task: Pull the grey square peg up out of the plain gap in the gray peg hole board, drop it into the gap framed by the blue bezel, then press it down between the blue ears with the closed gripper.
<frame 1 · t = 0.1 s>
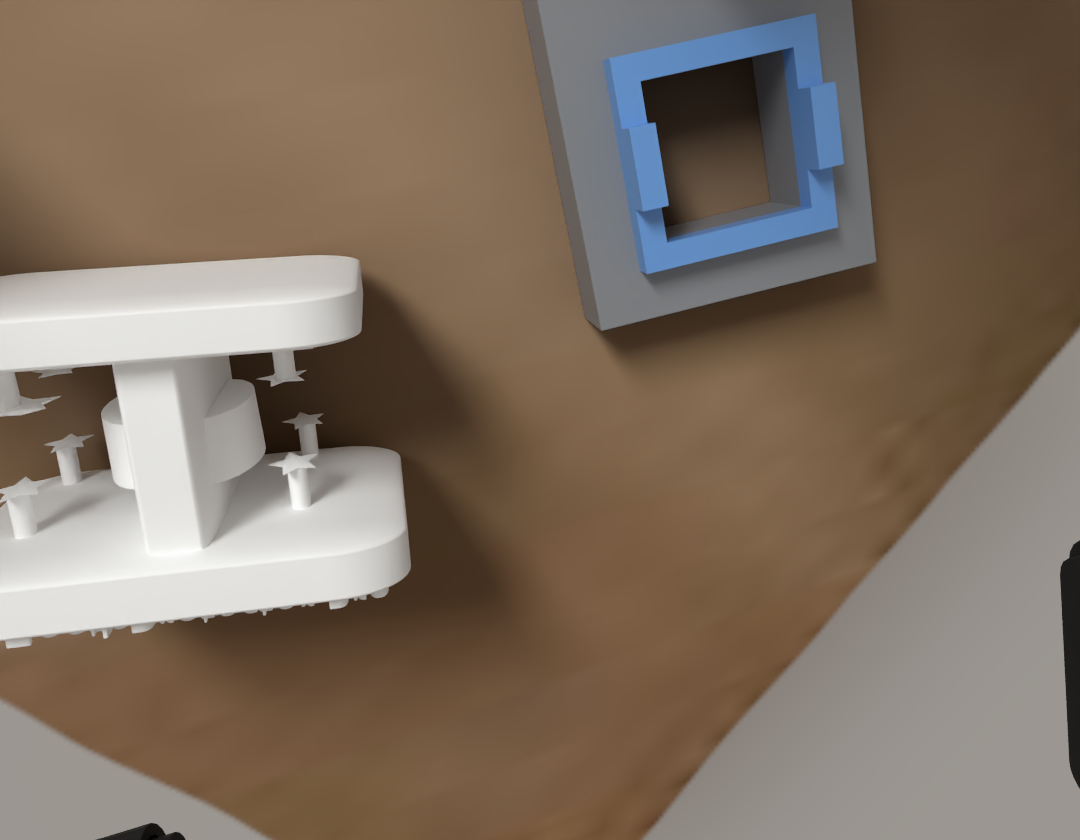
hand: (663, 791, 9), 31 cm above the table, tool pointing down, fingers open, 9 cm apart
cable organizer: (210, 385, 38), on the table
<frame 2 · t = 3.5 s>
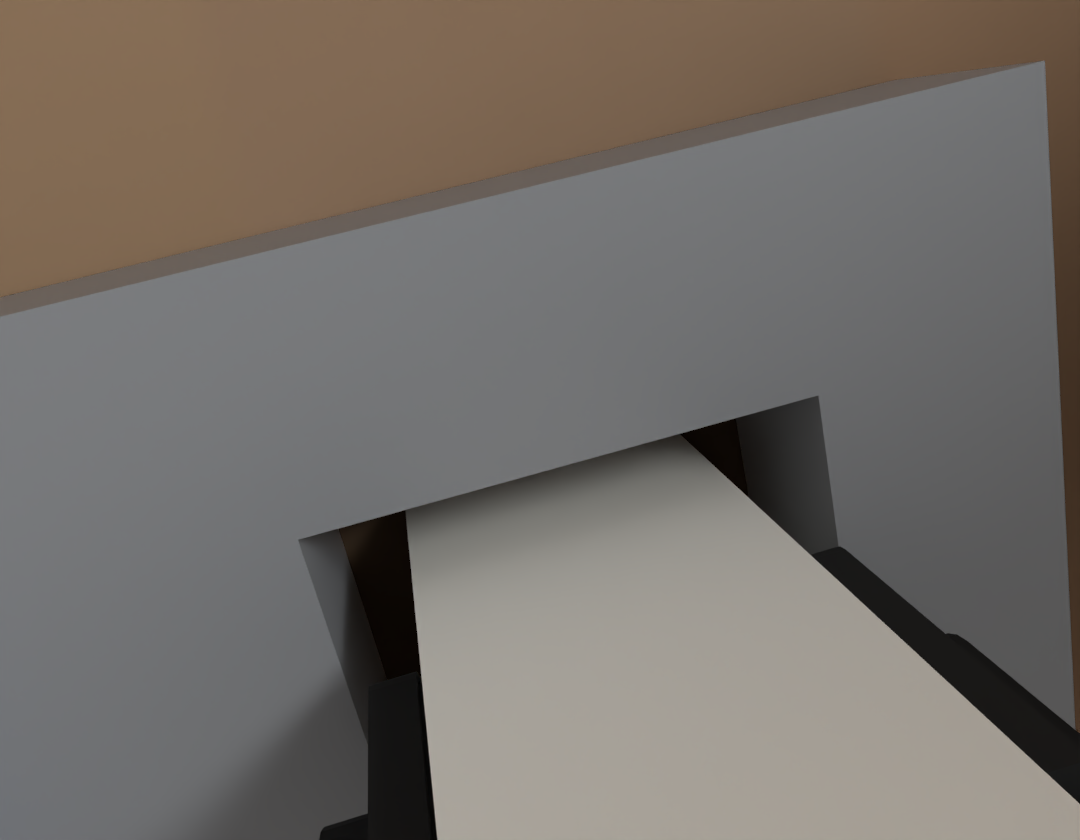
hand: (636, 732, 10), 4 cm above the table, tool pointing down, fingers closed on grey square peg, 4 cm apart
grey square peg: (567, 581, 14), resting in gray peg hole board, touching gripper
gray peg hole board: (171, 696, 13), on the table
when the fingers open (5 cm above the table, at t = 9.8 s): grey square peg drops 1 cm, resting in gray peg hole board.
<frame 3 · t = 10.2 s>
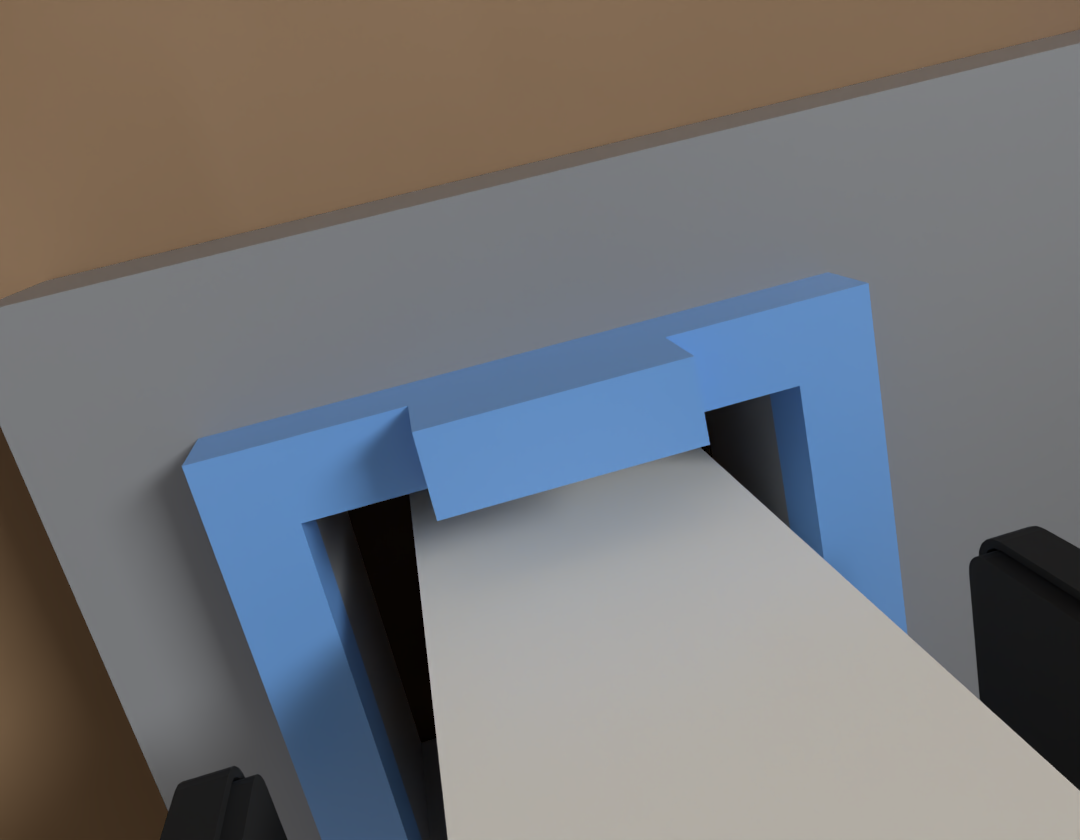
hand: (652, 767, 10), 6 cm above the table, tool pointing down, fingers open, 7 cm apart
grey square peg: (553, 540, 15), resting in gray peg hole board
gray peg hole board: (882, 447, 16), on the table
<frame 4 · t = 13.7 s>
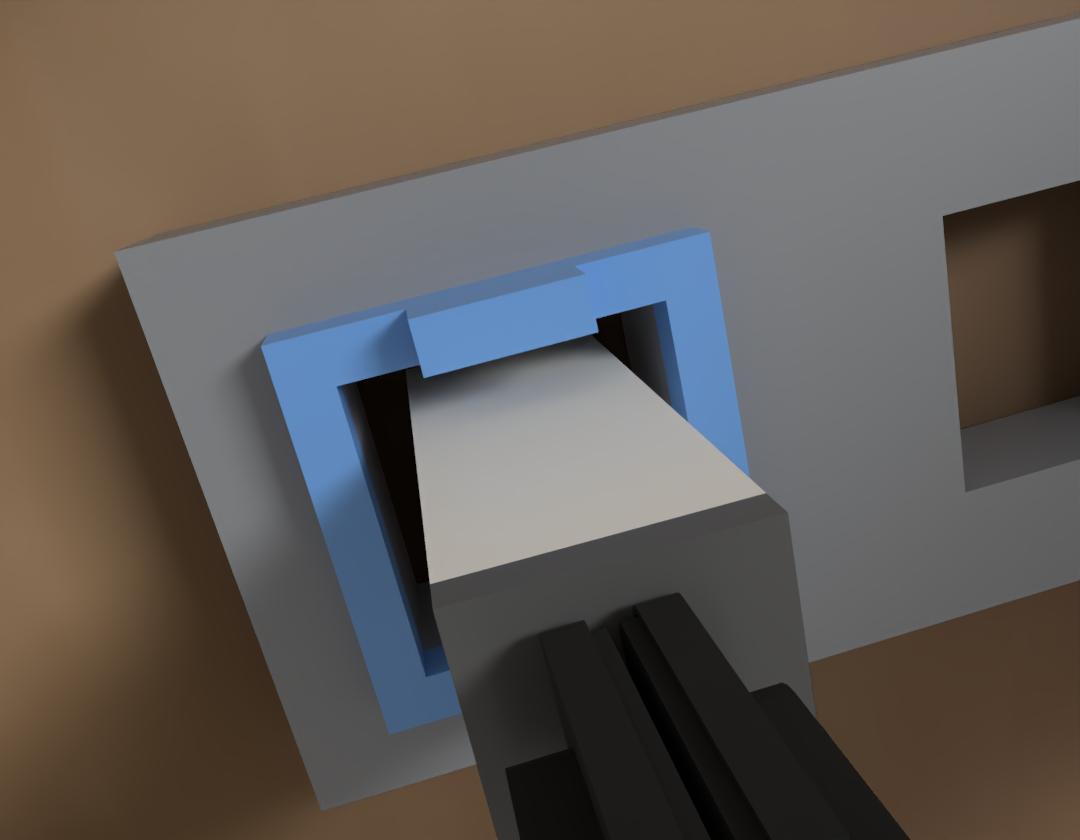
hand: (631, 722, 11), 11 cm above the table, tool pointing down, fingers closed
grey square peg: (513, 431, 21), resting in gray peg hole board, touching gripper
gray peg hole board: (759, 365, 21), on the table
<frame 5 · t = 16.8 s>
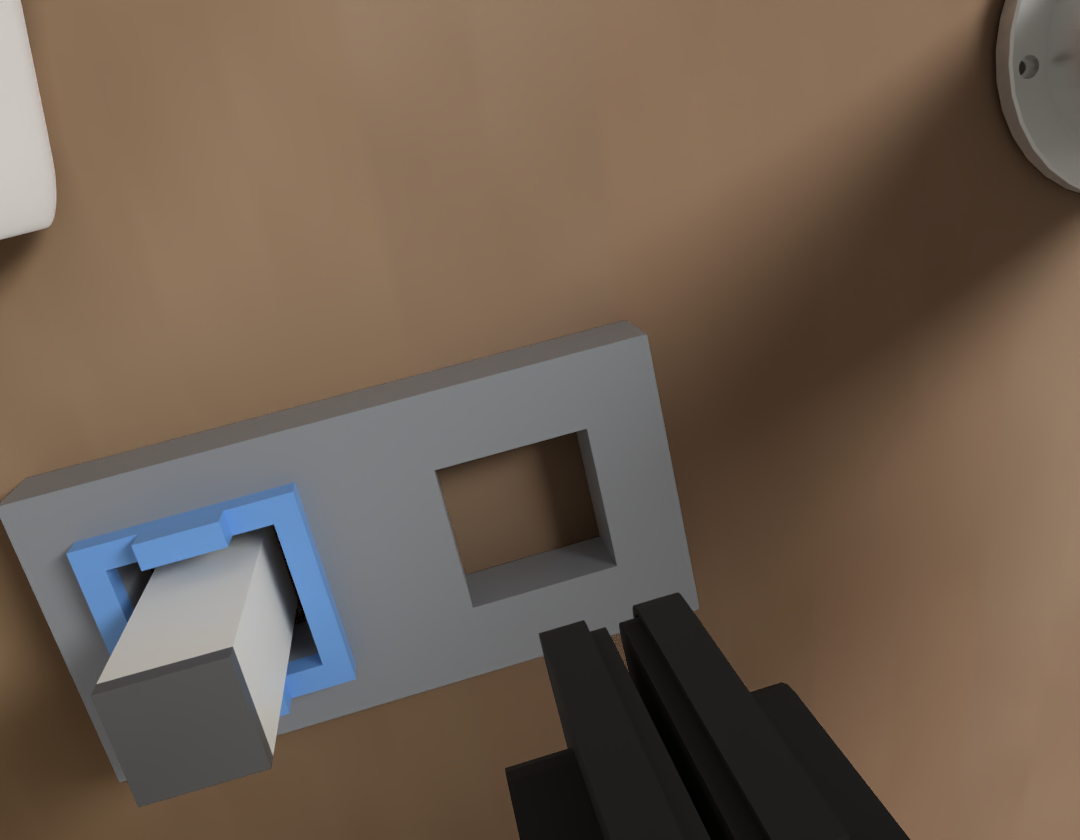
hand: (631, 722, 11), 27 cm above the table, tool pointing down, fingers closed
grey square peg: (235, 571, 38), resting in gray peg hole board
gray peg hole board: (377, 531, 38), on the table
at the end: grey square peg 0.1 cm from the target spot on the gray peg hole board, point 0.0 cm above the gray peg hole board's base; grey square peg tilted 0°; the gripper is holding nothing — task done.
